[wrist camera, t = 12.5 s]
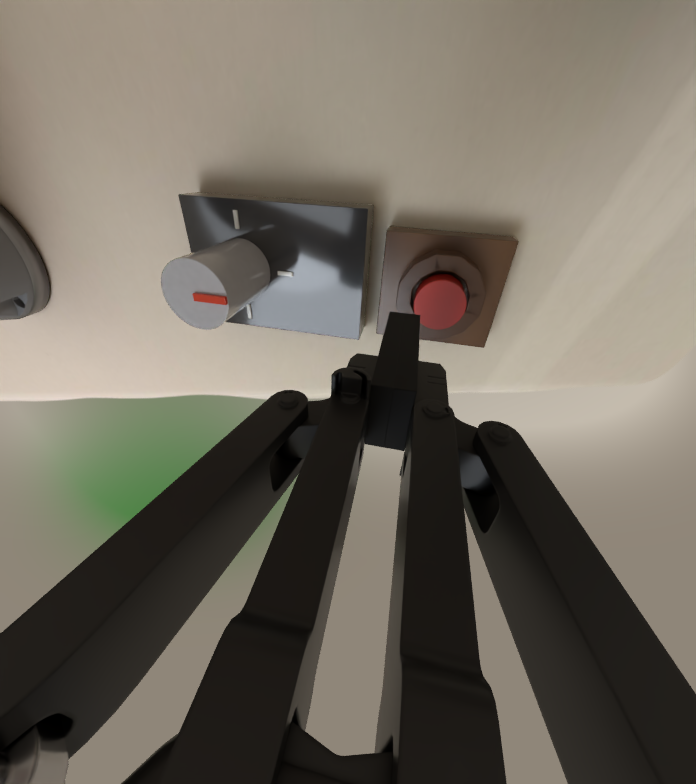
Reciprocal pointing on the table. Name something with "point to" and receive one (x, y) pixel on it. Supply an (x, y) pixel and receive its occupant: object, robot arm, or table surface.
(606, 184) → the table surface
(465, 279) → the block
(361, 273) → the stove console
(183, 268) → the stove knob
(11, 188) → the table surface
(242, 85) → the table surface
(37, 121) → the table surface
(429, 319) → the power button
